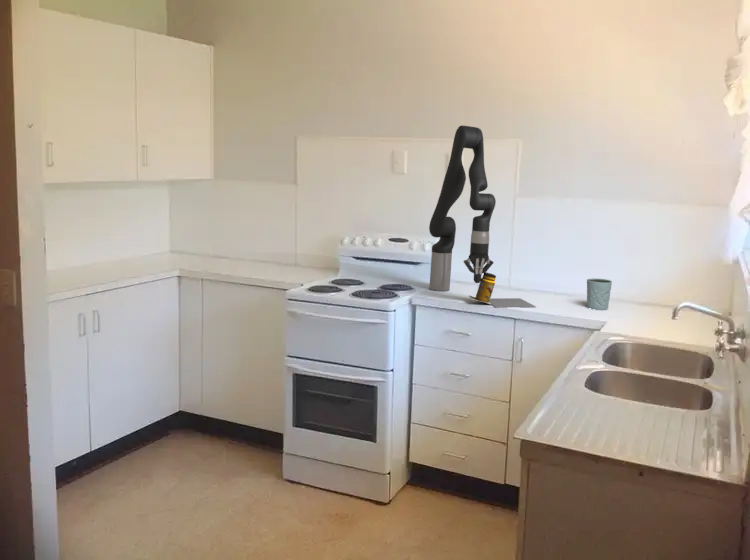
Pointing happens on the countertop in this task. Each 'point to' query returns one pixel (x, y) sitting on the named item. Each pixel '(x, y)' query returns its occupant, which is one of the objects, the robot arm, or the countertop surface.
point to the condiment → (485, 288)
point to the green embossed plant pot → (598, 293)
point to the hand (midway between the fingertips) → (477, 282)
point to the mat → (509, 302)
